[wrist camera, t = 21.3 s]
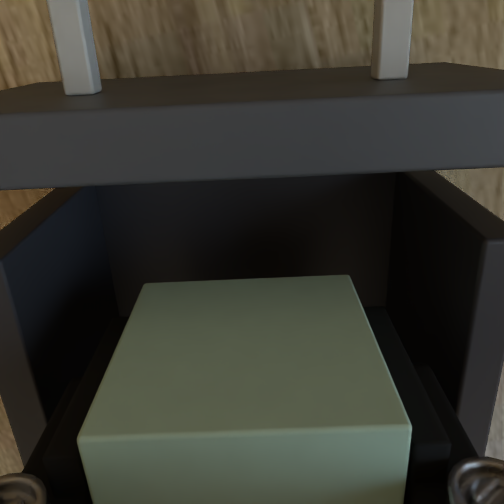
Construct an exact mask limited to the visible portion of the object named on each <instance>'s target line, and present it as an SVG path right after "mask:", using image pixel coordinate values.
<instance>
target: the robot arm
mask: <svg viewBox="0 0 504 504" xmlns="http://www.w3.org/2000/svg"><path fill="white" fill-rule="evenodd" d="M363 309H364V312H365V314H366V317H367V319H368V321H369V324H370V326H371V329H372V331H373V333H374V336H375V338H376V341H377V343H378V346H379V348H380V350H381V353H382V355H383V358H384V360H385V362H386V365H387V367H388V370H389V372H390V374H391V377H392V379H393V382H394V384H395V387H396V389H397V391H398V394H399V396H400V399H401V401H402V403H403V406H404V408H405V411H406V413H407V415H408V418H409V420H410V423H411V425H412V434H411V442H410V451H409V460H408V468H407V477H406V485H405V494H404V502H403V504H504V461H503V460H499V459H495V458H491V457H479V456H478V454H477V452H476V450H475V448H474V447H473V445H472V443H471V441H470V439H469V437H468V435H467V434H466V432H465V430H464V428H463V426H462V424H461V423H460V421H459V419H458V417H457V415H456V413H455V412H454V410H453V408H452V406H451V404H450V402H449V400H448V399H447V397H446V395H445V393H444V391H443V389H442V388H441V386H440V384H439V382H438V380H437V378H436V376H435V375H434V373H433V371H432V369H431V368H430V366H429V365H428V364H426V363H418V364H412V362H411V360H410V358H409V356H408V354H407V352H406V350H405V348H404V346H403V344H402V342H401V340H400V338H399V336H398V334H397V332H396V330H395V328H394V326H393V324H392V322H391V320H390V318H389V316H388V314H387V312H386V310H385V308H384V306H373V307H363ZM128 319H129V317H113V318H112V319H111V321H110V323H109V325H108V327H107V329H106V331H105V333H104V335H103V337H102V339H101V341H100V343H99V345H98V347H97V349H96V351H95V353H94V355H93V357H92V359H91V361H90V363H89V365H88V367H87V369H86V371H85V373H84V375H83V377H74V378H73V379H72V380H71V381H70V382H69V384H68V386H67V388H66V389H65V391H64V393H63V395H62V397H61V399H60V401H59V403H58V405H57V407H56V408H55V410H54V412H53V414H52V416H51V418H50V420H49V422H48V424H47V426H46V427H45V429H44V431H43V433H42V435H41V437H40V439H39V441H38V443H37V444H36V446H35V448H34V450H33V452H32V454H31V456H30V458H29V460H28V462H27V463H26V465H25V467H24V469H23V471H22V473H12V474H6V475H3V476H0V504H93V502H92V498H91V494H90V490H89V487H88V483H87V479H86V475H85V471H84V467H83V464H82V460H81V456H80V452H79V448H78V444H77V437H78V434H79V432H80V430H81V427H82V425H83V423H84V420H85V418H86V416H87V414H88V411H89V409H90V407H91V404H92V402H93V400H94V397H95V395H96V393H97V391H98V388H99V386H100V384H101V381H102V379H103V377H104V374H105V372H106V370H107V368H108V365H109V363H110V361H111V358H112V356H113V354H114V351H115V349H116V347H117V345H118V342H119V340H120V338H121V335H122V333H123V331H124V328H125V326H126V324H127V322H128Z"/></svg>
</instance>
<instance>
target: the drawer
mask: <svg viewBox="0 0 504 504" xmlns="http://www.w3.org/2000/svg"><path fill="white" fill-rule="evenodd" d="M46 1H47V6H48V12H49V17H50V22H51V27H52V32H53V37H54V42H55V47H56V52H57V57H58V62H59V68H60V73H61V78H62V81H59V82H39V83H34V84H29V85H25V86H20V87H15V88H10V89H6V90H1V91H0V190H18V189H40V188H55V189H54V190H52V191H51V192H50V193H48V194H47V195H46V196H45V197H43V198H42V199H41V200H39V201H38V202H37V203H35V204H34V205H33V206H32V207H30V208H29V209H28V210H26V211H25V212H24V213H22V214H21V215H20V216H19V217H17V218H16V219H15V220H13V221H12V222H11V223H9V224H8V225H7V226H6V227H4V228H3V229H2V230H0V395H1V398H2V401H3V404H4V407H5V410H6V413H7V416H8V419H9V422H10V425H11V428H12V431H13V435H14V438H15V441H16V444H17V447H18V450H19V453H20V456H21V459H22V462H23V465H24V467H25V465H26V463H27V462H28V460H29V458H30V456H31V454H32V452H33V450H34V448H35V446H36V444H37V443H38V441H39V439H40V437H41V435H42V433H43V431H44V429H45V427H46V426H47V424H48V422H49V420H50V418H51V416H52V414H53V412H54V410H55V408H56V407H57V405H58V403H59V401H60V399H61V397H62V395H63V393H64V391H65V389H66V388H67V386H68V384H69V382H70V381H71V380H72V379H73V378H74V377H83V375H84V373H85V371H86V369H87V367H88V365H89V363H90V361H91V359H92V357H93V355H94V353H95V351H96V349H97V347H98V345H99V343H100V341H101V339H102V337H103V335H104V333H105V331H106V329H107V327H108V325H109V323H110V321H111V319H112V318H113V317H130V315H131V312H132V310H133V308H134V305H135V303H136V301H137V299H138V296H139V294H140V292H141V289H142V287H143V285H144V284H146V283H163V282H186V281H210V280H233V279H257V278H280V277H304V276H327V275H349V276H350V278H351V280H352V283H353V285H354V288H355V290H356V292H357V295H358V297H359V300H360V302H361V305H362V307H373V306H384V308H385V310H386V312H387V314H388V316H389V318H390V320H391V322H392V324H393V326H394V328H395V330H396V332H397V334H398V336H399V338H400V340H401V342H402V344H403V346H404V348H405V350H406V352H407V354H408V356H409V358H410V360H411V362H412V364H418V363H426V364H428V365H429V366H430V368H431V369H432V371H433V373H434V375H435V376H436V378H437V380H438V382H439V384H440V386H441V388H442V389H443V391H444V393H445V395H446V397H447V399H448V400H449V402H450V404H451V406H452V408H453V410H454V412H455V413H456V415H457V417H458V419H459V421H460V423H461V424H462V426H463V428H464V430H465V432H466V434H467V435H468V437H469V439H470V441H471V443H472V445H473V447H474V448H475V450H476V452H477V454H478V456H479V457H484V455H485V450H486V445H487V440H488V435H489V430H490V425H491V420H492V415H493V411H494V406H495V401H496V396H497V391H498V386H499V381H500V376H501V371H502V366H503V361H504V221H503V220H501V219H500V218H499V217H497V216H496V215H494V214H493V213H492V212H490V211H489V210H488V209H486V208H485V207H483V206H482V205H481V204H479V203H478V202H477V201H475V200H474V199H472V198H471V197H470V196H468V195H467V194H466V193H464V192H463V191H461V190H460V189H459V188H457V187H456V186H455V185H453V184H452V183H450V182H449V181H448V180H446V179H445V178H444V177H442V176H441V175H439V174H438V173H437V172H435V171H434V170H454V169H476V168H497V167H504V70H501V69H493V68H485V67H477V66H469V65H461V64H454V63H446V62H441V63H421V64H409V54H410V42H411V30H412V17H413V5H414V0H375V2H374V22H373V41H372V61H371V66H361V67H341V68H321V69H300V70H280V71H260V72H240V73H220V74H200V75H180V76H160V77H140V78H120V79H100V74H99V68H98V62H97V56H96V50H95V44H94V38H93V32H92V26H91V20H90V14H89V8H88V2H87V0H46Z"/></svg>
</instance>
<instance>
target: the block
mask: <svg viewBox="0 0 504 504" xmlns="http://www.w3.org/2000/svg"><path fill="white" fill-rule="evenodd" d="M411 434H412V425H411V423H410V420H409V418H408V415H407V413H406V411H405V408H404V406H403V403H402V401H401V399H400V396H399V394H398V391H397V389H396V387H395V384H394V382H393V379H392V377H391V374H390V372H389V370H388V367H387V365H386V362H385V360H384V358H383V355H382V353H381V350H380V348H379V346H378V343H377V341H376V338H375V336H374V333H373V331H372V329H371V326H370V324H369V321H368V319H367V317H366V314H365V312H364V309H363V307H362V305H361V302H360V300H359V297H358V295H357V292H356V290H355V288H354V285H353V283H352V280H351V278H350V276H349V275H327V276H304V277H280V278H257V279H233V280H210V281H186V282H163V283H146V284H144V285H143V287H142V289H141V292H140V294H139V296H138V299H137V301H136V303H135V305H134V308H133V310H132V312H131V315H130V317H129V319H128V322H127V324H126V326H125V328H124V331H123V333H122V335H121V338H120V340H119V342H118V345H117V347H116V349H115V351H114V354H113V356H112V358H111V361H110V363H109V365H108V368H107V370H106V372H105V374H104V377H103V379H102V381H101V384H100V386H99V388H98V391H97V393H96V395H95V397H94V400H93V402H92V404H91V407H90V409H89V411H88V414H87V416H86V418H85V420H84V423H83V425H82V427H81V430H80V432H79V434H78V437H77V444H78V448H79V452H80V456H81V460H82V464H83V467H84V471H85V475H86V479H87V483H88V487H89V490H90V494H91V498H92V502H93V504H403V502H404V494H405V485H406V477H407V468H408V460H409V451H410V442H411Z"/></svg>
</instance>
